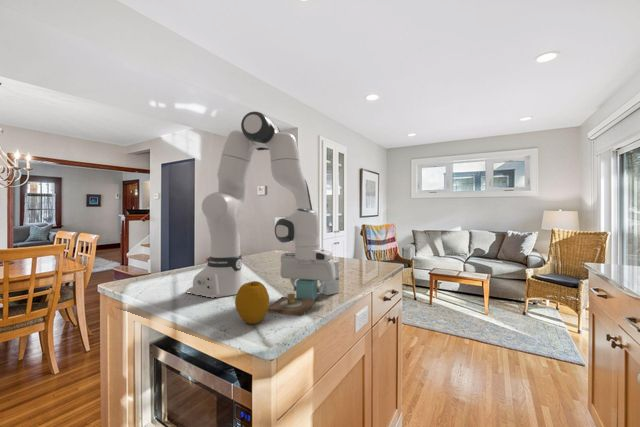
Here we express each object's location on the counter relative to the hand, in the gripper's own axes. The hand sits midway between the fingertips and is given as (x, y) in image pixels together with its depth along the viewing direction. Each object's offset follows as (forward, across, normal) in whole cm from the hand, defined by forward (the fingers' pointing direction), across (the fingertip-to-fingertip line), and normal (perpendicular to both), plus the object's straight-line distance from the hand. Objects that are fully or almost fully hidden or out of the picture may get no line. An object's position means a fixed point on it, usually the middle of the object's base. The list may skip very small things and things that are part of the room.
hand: (307, 291), depth 104 cm
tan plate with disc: (+2, -2, -10) cm, 11 cm away
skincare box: (+3, +6, +9) cm, 11 cm away
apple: (+3, -8, -24) cm, 26 cm away
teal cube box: (+2, 0, 0) cm, 3 cm away
